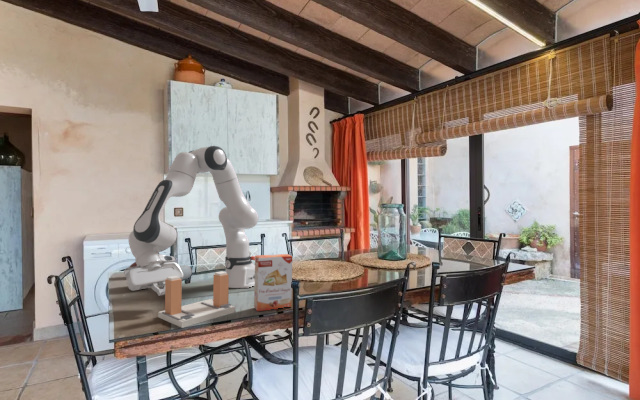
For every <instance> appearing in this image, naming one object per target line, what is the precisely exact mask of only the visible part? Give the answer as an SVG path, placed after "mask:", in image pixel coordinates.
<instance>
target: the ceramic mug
mask: <svg viewBox="0 0 640 400" xmlns="http://www.w3.org/2000/svg"><path fill="white" fill-rule="evenodd" d="M179 266H180V268H181V270H182V272H183V274H184V276H183V278H182V281H184V280H187V279H188V278H190V277H191V276H192V273H193V270H192V267H191V266H190V265H187V264H184V265H183V264H182V265H179Z"/></svg>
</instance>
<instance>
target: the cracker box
mask: <svg viewBox="0 0 640 400" xmlns="http://www.w3.org/2000/svg"><path fill="white" fill-rule="evenodd" d="M254 256H255V260H254V265H255V286H254V287H253V288H254V291H253V292H254V299H253V308H254V309H255V310H256V312H263V311H272V310H271V309H274V310H279V309H278V308H283V307H290V306H291V307H292V291H293V290H292V288H293V287H292V288H291V282H292V281H293V256H292V255H290V254H289V253H283V254H261V255H257V254H256V255H254ZM292 283H293V282H292ZM283 309H284V308H283Z"/></svg>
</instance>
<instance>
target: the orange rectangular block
mask: <svg viewBox="0 0 640 400" xmlns="http://www.w3.org/2000/svg"><path fill="white" fill-rule="evenodd" d="M182 282H183V280H182V279H180V277H178V276H171V277H167V279H165V294H164V299H165V301H164V306H165V307H164V310H165V313H167V314H170V315H174V314H178V313H181V306H183V305H182V297H183V296H182V293H183V292H182V290H183V289H182V285H183V284H182Z"/></svg>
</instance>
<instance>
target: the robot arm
mask: <svg viewBox="0 0 640 400" xmlns="http://www.w3.org/2000/svg"><path fill="white" fill-rule="evenodd" d="M208 172H209V173H210V174H211V176H212V180H213V182H214V186H215V188H216V192H217V194H218V199H220V201H221V202H222V203H223V204H224V205H225V207H223V208H222V209H221V210H220V211H219V213H218V220H219V223H220V224H221V225H222V228H223V231H224V236H225V246H226V247H225V249H226V250H225V251H226V255H225V258H224V259H225V260H224V261H225V263H224V264H225V271H224V272H227V274H228V275H229V288H230V289H239V288H240V289H244V288H245V289H249V287H251V288H253V287H252V286H254V287H255V263H253V262H252V261H255V256H256V255H254V256H253V255H252V256H250V240H249V237H248V236H247V234H246V232H245V230H247V229H253V228H254V227H256V226H257V224H258V222H259V214H258V212H257V210H256V209H254V207H252V206H251V204H250V203H249V200H248V199H247V198H246V197H245V195H244V192H243V190H242V187H241V184H240V182H239V179H238V176H237V172H236V170H235V168H234V166H233V163H232V162H231V160H230V159H229V158H228V157H227V154H226V152H225V151H224V150H223V148H221V146H216V145H210V146H204V147H200V148H197V149H195V150H190V151H189V152H187V151H182V152H178V153H177V155H176V156H175V157H174V160H172V163H171V165H170V167H169V169H168V173H167V175H166V177H165V178H164V179H163V180H161V181H160V182H158V184H157V186H156V187H155V189H154V191H152V194H151V196H150V198H149V199H148V201H147V204H146V206H145V207H144V210H143V211H142V213H141V215H140V216H139V217H138V218H137V220H136V221H135V223H134V225H133V230H132V231H131V232H130V233H129V235H128V245H129V248H130V251H131V254H132V256H133V257H134V258H135V262H136V264H137V266H135V267H129V266H128V267H126V268H125V269H124V270H123V274H124V276H125V279H126V278H127V279H126V281H127V287H128V289H129V290H130V291H132V292H133V291H138V290H139V291H140V290H142V289H143V290H144V289H145V290H146V289H149V288H151V289H152V291H154V292H156V294H157V296H158V297H159V296H165V279H167V277H171V276H178V277H180V279H182V278H183V276H184V274H183V272H182V270H181V268H180V266H181V265H180V264H178V262H175V261H176V258H175V257H174V256H172V255H164V254H160V253H161V252H164V251H166V250H167V249H169V248H171V247H173V245H174V244H175V243H176V241H177V239H178V232H177V229H176V228H175V227H173V226H171V225H170V224H168V223H166V222H164V221H161V217H160V216H161V215H162V212H163V210H164V208H165V206H166V204H167V201H168V200H169V199H170V198H172V197H175V198H181V197H182V198H183V197H184V196H185V197H186V196H187V195H189V194H190V193H191V191H192V189H193V187H194V184H195V182H196V177H197V174H199V173H201V174H202V173H203V174H204V173H208ZM159 286H161V288H160V287H159Z"/></svg>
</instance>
